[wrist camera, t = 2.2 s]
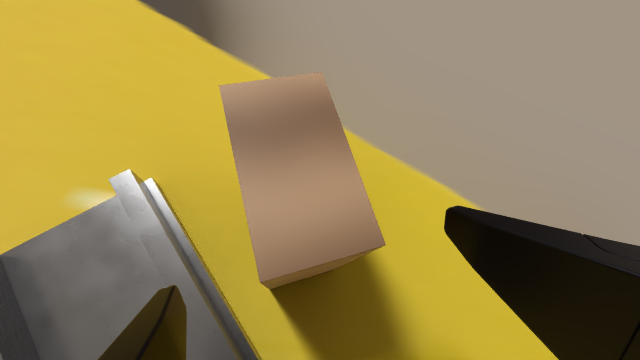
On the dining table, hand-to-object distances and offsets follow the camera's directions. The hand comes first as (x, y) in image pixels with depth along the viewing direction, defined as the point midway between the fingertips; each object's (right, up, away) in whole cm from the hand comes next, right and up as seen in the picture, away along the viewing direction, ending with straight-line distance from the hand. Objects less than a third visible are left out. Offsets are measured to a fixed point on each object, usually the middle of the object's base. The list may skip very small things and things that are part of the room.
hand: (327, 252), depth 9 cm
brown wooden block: (-3, -1, +11) cm, 11 cm away
